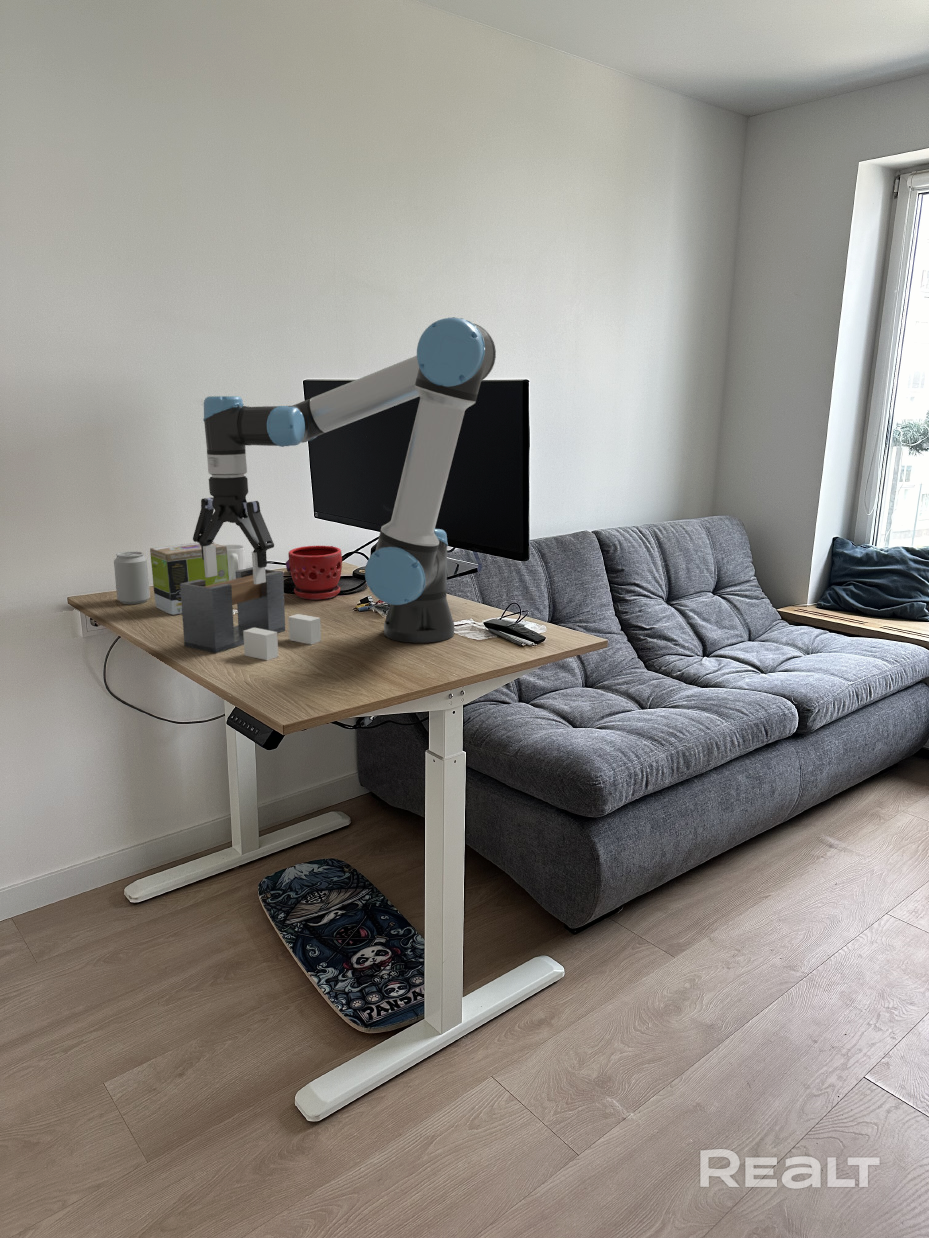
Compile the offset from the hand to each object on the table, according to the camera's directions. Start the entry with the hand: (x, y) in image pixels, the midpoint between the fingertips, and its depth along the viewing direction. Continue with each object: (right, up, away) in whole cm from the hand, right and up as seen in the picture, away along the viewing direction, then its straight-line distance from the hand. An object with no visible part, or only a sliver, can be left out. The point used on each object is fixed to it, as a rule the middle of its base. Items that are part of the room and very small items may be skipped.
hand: (235, 579), depth 179 cm
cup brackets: (-1, -12, +3) cm, 13 cm away
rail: (0, -4, +1) cm, 5 cm away
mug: (-14, 0, +49) cm, 51 cm away
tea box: (-18, -6, +29) cm, 34 cm away
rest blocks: (+11, -14, -3) cm, 18 cm away
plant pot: (+10, -3, +41) cm, 42 cm away
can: (-33, -4, +33) cm, 47 cm away
